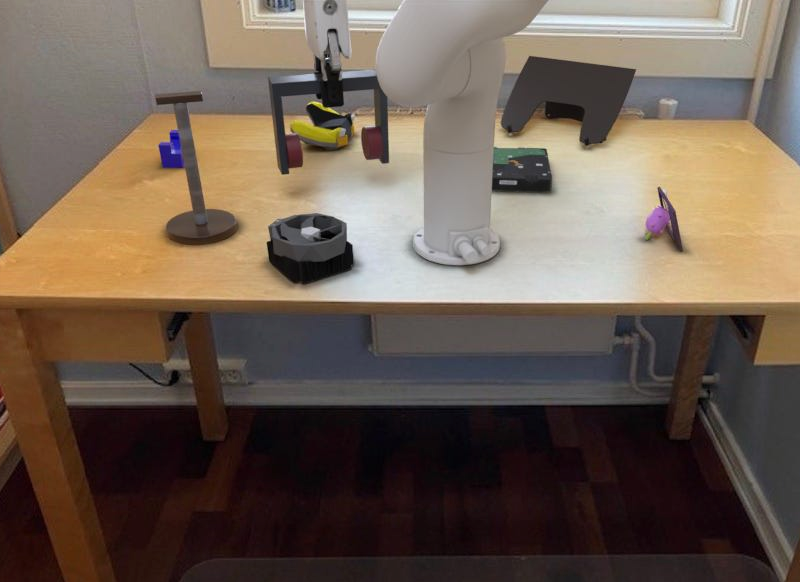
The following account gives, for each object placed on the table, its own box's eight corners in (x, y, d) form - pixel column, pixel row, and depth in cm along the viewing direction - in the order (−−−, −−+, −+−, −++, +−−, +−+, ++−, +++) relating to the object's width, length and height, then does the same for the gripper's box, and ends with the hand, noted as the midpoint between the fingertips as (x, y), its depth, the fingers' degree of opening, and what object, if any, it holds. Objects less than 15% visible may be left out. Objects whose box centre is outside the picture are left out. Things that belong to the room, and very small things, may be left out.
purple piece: (680, 209, 110) (664, 184, 118) (644, 220, 111) (630, 195, 118) (688, 249, 114) (671, 223, 121) (652, 260, 115) (638, 233, 122)
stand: (241, 239, 114) (221, 101, 103) (169, 249, 111) (140, 108, 100) (232, 212, 122) (212, 81, 110) (165, 220, 119) (137, 86, 107)
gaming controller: (289, 152, 144) (342, 155, 143) (286, 123, 141) (340, 126, 140) (310, 126, 156) (359, 129, 156) (307, 99, 153) (358, 101, 152)
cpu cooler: (360, 231, 104) (291, 251, 99) (362, 269, 107) (296, 290, 102) (322, 205, 111) (256, 222, 106) (325, 241, 114) (261, 260, 109)
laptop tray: (495, 157, 160) (490, 124, 153) (531, 82, 170) (528, 46, 163) (605, 176, 153) (605, 142, 146) (635, 96, 163) (637, 60, 156)
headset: (390, 164, 126) (388, 76, 119) (282, 176, 121) (272, 85, 113) (381, 153, 130) (378, 67, 123) (276, 165, 125) (266, 75, 117)
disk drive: (552, 194, 131) (545, 161, 143) (553, 178, 129) (546, 146, 141) (490, 193, 131) (488, 160, 143) (491, 177, 129) (489, 145, 141)
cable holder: (183, 167, 136) (178, 145, 134) (162, 167, 136) (158, 145, 134) (195, 151, 143) (191, 130, 141) (175, 151, 143) (171, 129, 141)
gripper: (362, -20, 105) (367, 116, 115) (333, -39, 117) (341, 85, 128) (306, -18, 102) (317, 121, 113) (283, -38, 115) (295, 89, 125)
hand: (329, 101), depth 120 cm, fingers closed on headset, 3 cm apart
